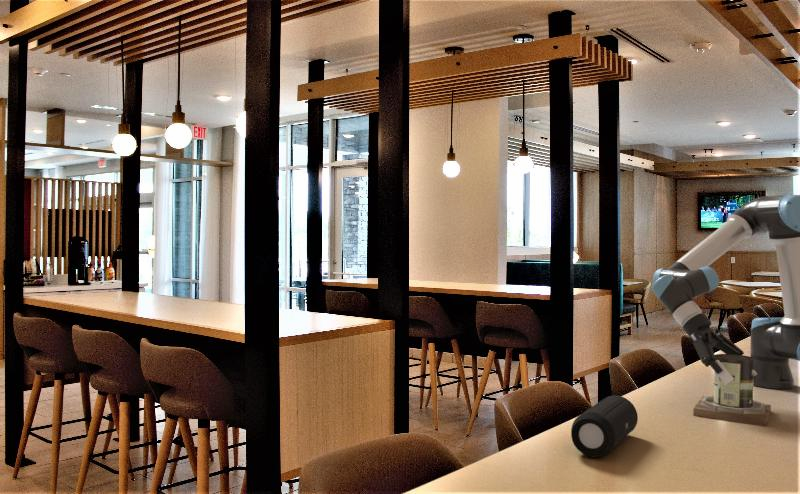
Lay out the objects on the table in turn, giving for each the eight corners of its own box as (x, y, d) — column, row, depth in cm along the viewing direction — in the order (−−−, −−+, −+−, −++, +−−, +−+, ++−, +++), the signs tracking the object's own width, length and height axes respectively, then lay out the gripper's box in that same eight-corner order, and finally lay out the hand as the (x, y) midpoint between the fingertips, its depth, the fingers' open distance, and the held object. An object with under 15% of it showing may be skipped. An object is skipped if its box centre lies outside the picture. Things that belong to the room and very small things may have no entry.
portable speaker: (611, 464, 149) (612, 418, 149) (566, 455, 154) (567, 411, 154) (639, 436, 170) (640, 396, 170) (599, 429, 176) (600, 390, 175)
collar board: (702, 402, 207) (703, 392, 207) (770, 411, 198) (770, 400, 198) (693, 415, 192) (693, 403, 192) (766, 425, 183) (766, 413, 183)
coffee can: (747, 403, 199) (748, 354, 199) (758, 412, 189) (759, 360, 189) (708, 400, 201) (710, 352, 201) (717, 409, 191) (719, 358, 191)
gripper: (704, 325, 214) (752, 381, 203) (661, 330, 199) (710, 392, 187) (722, 309, 210) (771, 367, 199) (678, 314, 195) (730, 376, 183)
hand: (742, 379), depth 193 cm, fingers open, 13 cm apart
